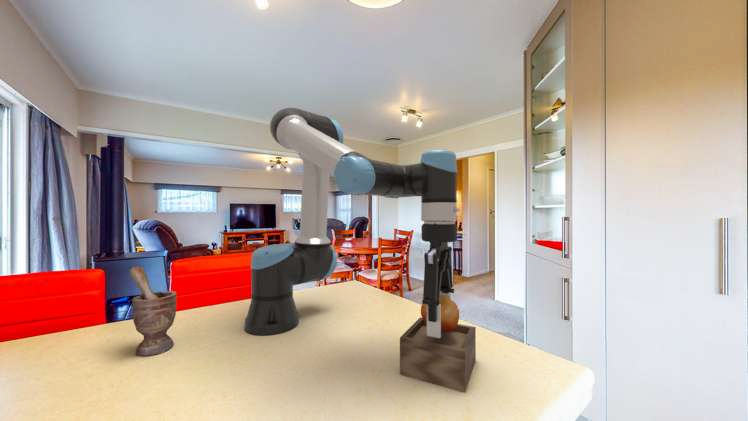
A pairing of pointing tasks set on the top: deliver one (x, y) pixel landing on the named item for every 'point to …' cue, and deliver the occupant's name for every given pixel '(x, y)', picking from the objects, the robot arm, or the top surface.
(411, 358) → the open wooden box
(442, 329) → the fruit
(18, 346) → the top surface
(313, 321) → the top surface
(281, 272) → the robot arm
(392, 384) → the top surface
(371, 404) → the top surface
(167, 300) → the mortar and pestle
